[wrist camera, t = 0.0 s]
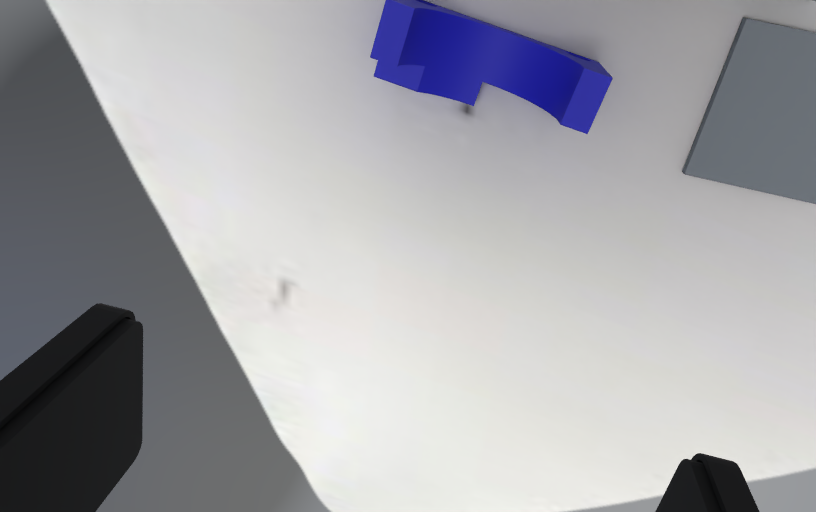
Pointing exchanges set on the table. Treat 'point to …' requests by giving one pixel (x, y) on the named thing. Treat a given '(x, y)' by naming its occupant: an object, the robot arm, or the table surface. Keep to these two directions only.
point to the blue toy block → (483, 62)
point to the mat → (762, 115)
